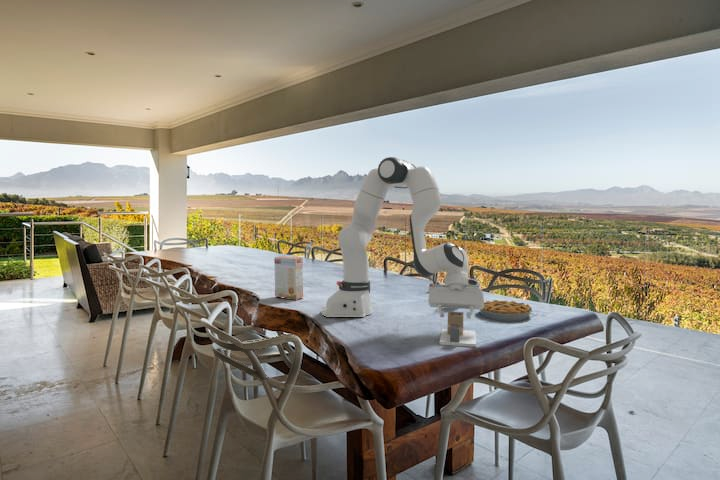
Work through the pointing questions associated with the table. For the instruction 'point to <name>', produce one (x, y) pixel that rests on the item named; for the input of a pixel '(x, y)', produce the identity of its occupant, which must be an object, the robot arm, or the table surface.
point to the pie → (506, 310)
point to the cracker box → (288, 277)
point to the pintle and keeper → (454, 332)
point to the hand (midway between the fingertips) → (455, 317)
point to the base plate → (464, 340)
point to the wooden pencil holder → (455, 321)
